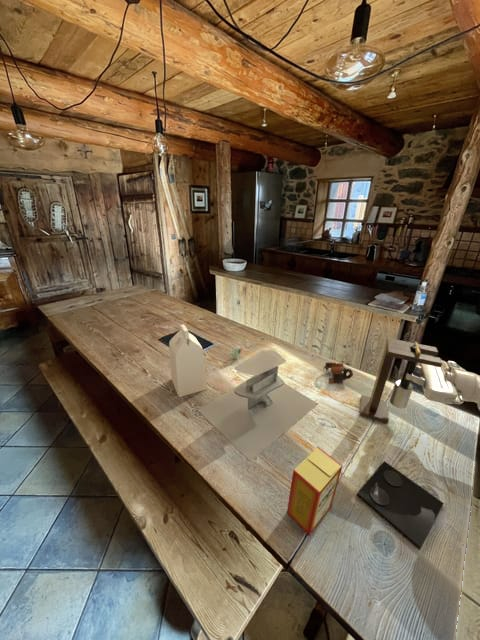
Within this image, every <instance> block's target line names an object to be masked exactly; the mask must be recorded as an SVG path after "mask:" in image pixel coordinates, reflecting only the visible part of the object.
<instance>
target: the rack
mask: <svg viewBox="0 0 480 640" xmlns="http://www.w3.org/2000/svg"><path fill="white" fill-rule="evenodd" d="M413 345H414V342H411V341H405V340H400V339H396V338H390V337H387V338H386V344H385V347H384V351H383V354H382V356H381V357H382V358H381V360H380V364H379V368H378V372H377V375H376V378H375V380H374V385H373V388H372V391H371V395H370V396H367V395H363V394H361V396H360V404H359V405H360V408H359V416H361V417H364V418H367V419H371V420H374V421H377V422H381V423H383V424H387V425H388V423H389V421H390V419H389V402H388V401H385V400H382V396H383V392H384V390H385V388H386V387H385V386H386V384H387V380H388V377H389V373H390V371H391V367H392V364H393V361H394V358H396V359H399V360H403V361H408V360H409V361H413V362H417V364H418V363H422V364H427V365H431V366H436V367H440V368H441V366H442V361H441V360H442V358H441V357H438V354H439V351H438V348H437V347H436V346H431V345H426V344H421V343H418V345H419V346H420V347H422V351H421V355H420V356H417V355H416V353H415V352H411V350H412V347H413Z"/></svg>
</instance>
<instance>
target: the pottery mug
mask: <svg viewBox="0 0 480 640" xmlns="http://www.w3.org/2000/svg"><path fill="white" fill-rule="evenodd" d="M329 369H330V372H331V373H332V377H328V383H330V384H336V385H337V384H338V385H341V384H343V383H344V381H346V380H349V379H351V378H353V376H354V373H353V372H354V371H353V370H352V369H351V368H346V367H345V366H344V363H343V362H338V363H336V362H325V365H324V366H323V368H322V370H325V371H329ZM347 373H349V374H347Z"/></svg>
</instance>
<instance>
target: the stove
mask: <svg viewBox="0 0 480 640" xmlns="http://www.w3.org/2000/svg"><path fill="white" fill-rule="evenodd" d="M356 497H358V498H359V500H361V501H362V502H363V503H365V504H366V505H367V506H368V507H369V508H370V509H372V510H373V511H374V512H375V513H376V514H377V515H379V517H381V518H382V519H383V520H384V521H385V522H386V523H388V524H389V525H390V526H391V527H392V528H393V529H395V530H396V531H397V532H398V533H399V534H400V535H402V537H404V538H405V539H406V540H407V541H409V542H410V543H411V544H412V545H413V546H414V547H416V548H417V549H418V550H421V548H422V546H423V544H424V542H425V541H426V539H427V536H428V534H429V533H430V531H431V529H432V527H433V525H434V523H435V521H436V519H437V517H438V516H439V514H440V512H441V510H442V508H443V506H444V502H443V501H441V500H440V499H439V498H437V497H436V496H434V495H433V494H431V493H430V492H429V491H428V490H426V489H424V488H423V487H422V486H420V485H419V484H417V483H416V482H415V481H413V480H412V479H410V478H409V477H408V476H406V475H405V474H403V473H402V472H401V471H399V470H398V469H396V468H395V467H394V466H392V465H391V464H389V463H388V462H386V461H385V460H384V461H382V463H381V464H380V465H379V466H378V467H377V469H376V470H375V471H374V473H372V474H371V476H370V477H369V478H368V480H367V481H366V482H365V483H364V484H363V486H362V487H361V488H360V489H359V490H358V492H357V493H356Z"/></svg>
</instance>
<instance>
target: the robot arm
mask: <svg viewBox="0 0 480 640" xmlns="http://www.w3.org/2000/svg"><path fill="white" fill-rule="evenodd" d="M441 361H442V366H441V368H440V367H436V366H431V365H427V364H422V363H418V362H417V365H416V368H415V371H414V373H416V374H419V376H417V375H415V374H414V373H413V374H412V373H406V379H407V380H411V382H413V383H415V384H416V385H419V386H422V390H423V395H424V398H425V399H426V400H429V401H431V402H436V403H439V404H440V403H441V404H447V405H453V404H455V405H462V404H463V403H465V402H473V403H475V404H476V405H477V406H476V407H477V409H478V411H479V412H480V375H479V374H477V373H475V372H471V371H467V370H466V369H465V368H463V367H461V366H460V365H459V364H457V362H455V361H453V360H448V361H445V360H443V359H441ZM405 367H406V364H405V365H404V368H403V369H404V370H405Z"/></svg>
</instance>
